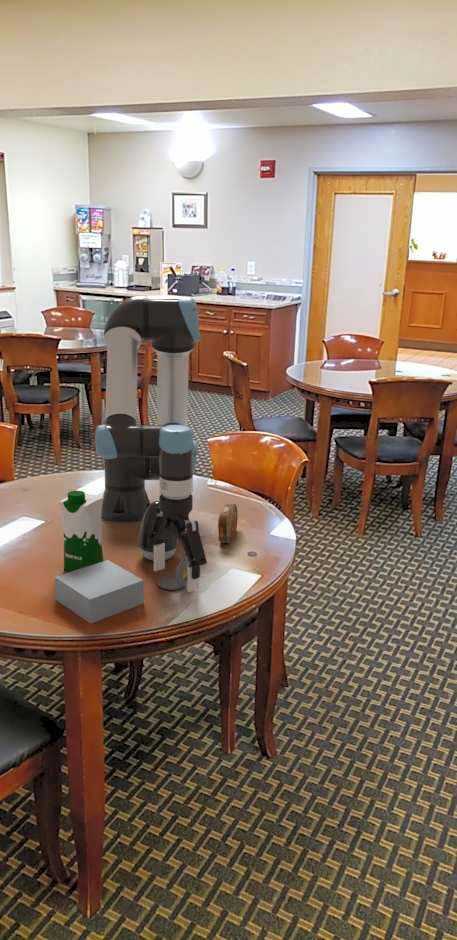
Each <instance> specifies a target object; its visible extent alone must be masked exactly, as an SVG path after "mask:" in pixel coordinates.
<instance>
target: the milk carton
mask: <svg viewBox="0 0 457 940" xmlns="http://www.w3.org/2000/svg"><path fill="white" fill-rule="evenodd" d="M103 498H104V497H103V496H100V495H95V494H89V493H85V492H84V491H82V490H71V491H69V492H68V493H67V497H65V498H63V499H61V500H59V501H58V503H59V507H60V511H61V515H62V536H63V570H64V571H68V572H72V571H75V570H78V569H81V568H84V567H87V566H91V565H94V564H97V563H100V562H103V561H104V553H103V541H102V540H103V539H102V538H103V534H102V517H101V511H102V504H103Z"/></svg>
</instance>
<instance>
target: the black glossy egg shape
mask: <svg viewBox="0 0 457 940" xmlns="http://www.w3.org/2000/svg"><path fill="white" fill-rule="evenodd" d="M155 507H159V500H155V501H152V502H150V505H149V506H148V508H147V509H146V511H145V513H144V516H143V519H141V523H140V527H139V532H138V539H137V546H138V548H139V550H140V553H141V555H142V556H143V557H144V558H146V559H147V560H148V561H151V562H154V555H153V544H152V542H151V539H148V538H147V535H148V532H149V529H150V526H151V523H152V520H153V518H154V513H155ZM163 541H164V542H161V543H164V544H165V561H166V560H169V559H170V558H172V557H173V555H174V554H175V553H176V551H177V547H178V545H179V539H178V538H177V536H176V535H175V534H174V533H172V532H169V533H168V534H167V536H166V537H165V539H164V540H163Z"/></svg>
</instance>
